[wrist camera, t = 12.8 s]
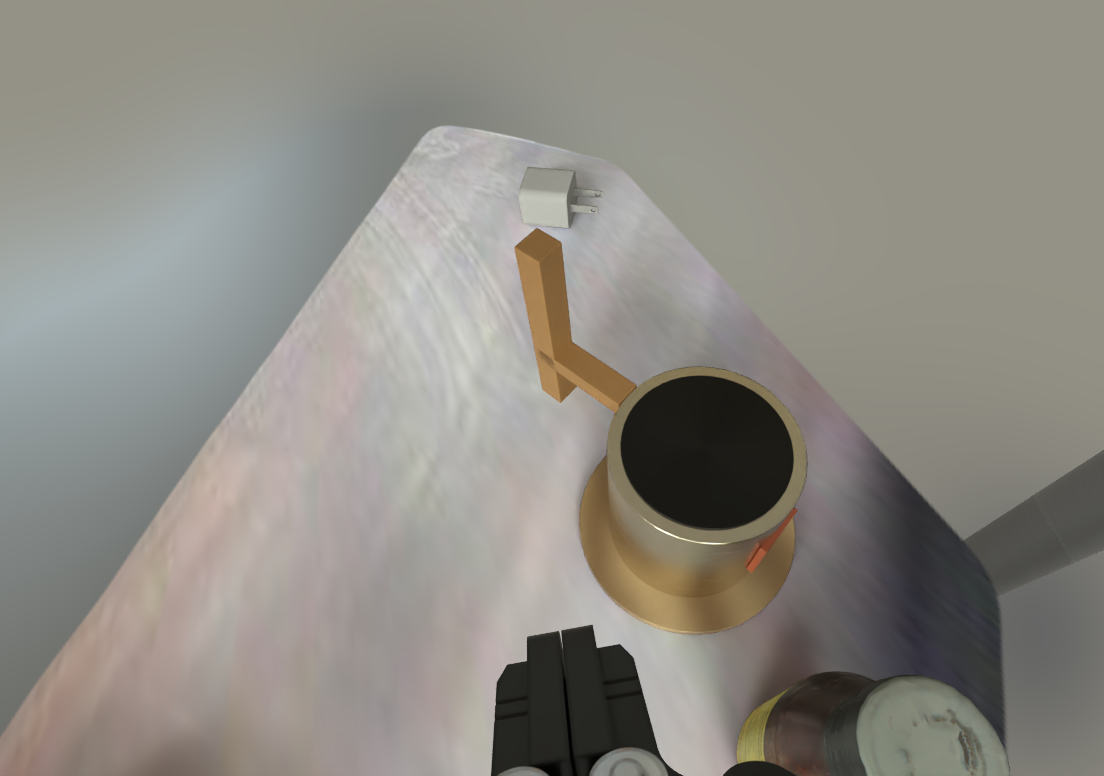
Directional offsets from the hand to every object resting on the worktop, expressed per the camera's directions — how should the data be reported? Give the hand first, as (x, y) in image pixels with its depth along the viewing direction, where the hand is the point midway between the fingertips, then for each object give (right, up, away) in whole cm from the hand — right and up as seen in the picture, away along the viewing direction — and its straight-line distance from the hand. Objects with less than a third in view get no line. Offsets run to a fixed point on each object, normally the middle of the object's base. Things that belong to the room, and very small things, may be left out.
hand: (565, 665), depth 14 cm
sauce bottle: (+13, -15, +20) cm, 28 cm away
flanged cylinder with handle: (+6, -1, +28) cm, 29 cm away
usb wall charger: (+1, +22, +44) cm, 49 cm away
